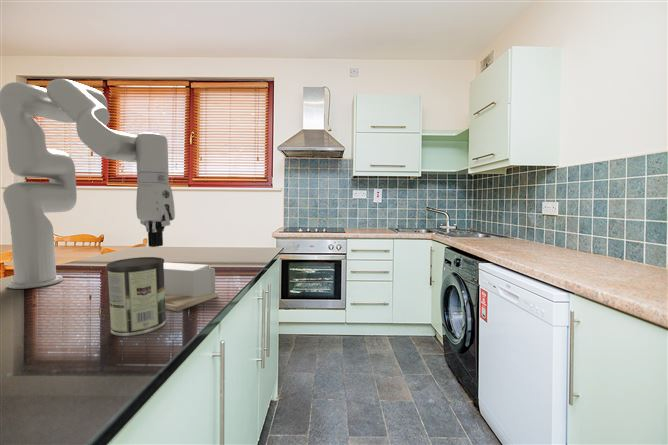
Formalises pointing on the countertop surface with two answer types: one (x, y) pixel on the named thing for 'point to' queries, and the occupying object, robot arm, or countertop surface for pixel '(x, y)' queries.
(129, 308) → the coffee can
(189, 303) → the beech board
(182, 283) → the milk carton
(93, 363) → the countertop surface
